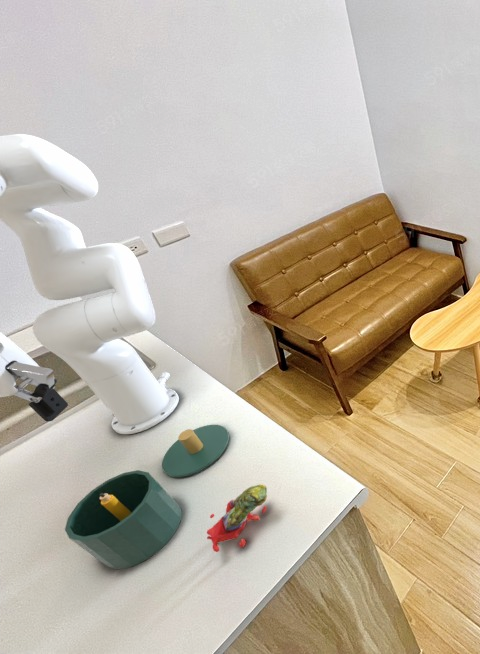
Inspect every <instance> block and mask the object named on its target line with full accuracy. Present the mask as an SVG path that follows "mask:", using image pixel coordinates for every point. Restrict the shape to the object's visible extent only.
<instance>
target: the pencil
mask: <svg viewBox="0 0 480 654" xmlns="http://www.w3.org/2000/svg"><path fill="white" fill-rule="evenodd" d="M100 500H101V504H102V505H103V506H104V507H105V508H106V509H107V510H109V511H110V512H111V513H112V514H113V515H114V516H115V517H116V518H118V519H119V520H120V521H122V520H123V519H125V518H126V517H128V516H129V515H130V514H131V513H132V512H130V511H129V510H128V509H127V508H126V507H125V506H124V505H123V504H122V503H121V502H120V501H119V500H118V499H117V498H115V497H114V496H113V495H108V494H107V493H105V494H103V493H101V494H100Z"/></svg>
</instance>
